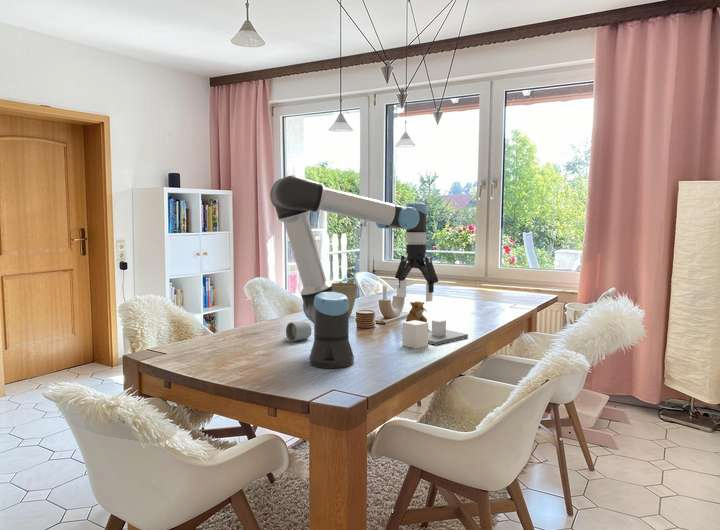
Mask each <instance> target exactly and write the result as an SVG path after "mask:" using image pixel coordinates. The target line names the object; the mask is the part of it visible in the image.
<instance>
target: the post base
mask: <svg viewBox="0 0 720 530" xmlns="http://www.w3.org/2000/svg"><path fill="white" fill-rule="evenodd" d="M466 337H468V338H469V333H465V332H464V333H463V332H460V331H459V332H458V331H456V330H455V331H454V330H449V329H447V320H444V319H440V318H438V319H432V320H431V330H430V331H429V332H428V343H429V344H428V345H431V344H434V345H433V346H435V345H436V346H439V345H438V344H440V345H443V344H442V343H444V344H447V343H446V342H448V343H451V342H450V341H453V342H455V341H454V340H457V341H460V340H459V339H461V340H463V339H462V338H465V339H467V338H466Z"/></svg>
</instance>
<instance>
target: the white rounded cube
mask: <svg viewBox="0 0 720 530" xmlns="http://www.w3.org/2000/svg"><path fill="white" fill-rule="evenodd" d="M428 329H429V322H428V321H427V322H422V321H417V320H413V321H408V322H406V321H403V322H402V333H401V335H402V339H401V341H402V343H401V345H402V346H403V345H404V346H403V347H407V348H410V347H411V349H414V348H415V349H414V350H416V348H417V349H420V347H421V348H424V346H426V347H429V344H428Z"/></svg>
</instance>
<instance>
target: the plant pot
mask: <svg viewBox="0 0 720 530" xmlns="http://www.w3.org/2000/svg"><path fill="white" fill-rule="evenodd" d="M331 284H332V287H333V291H334V292H337V293H342V294H344V295H346V296H347V298H348V303H349V317H351V316H352V313H353V309H354V306H355V303H356V300H357V299H356V298H357V293H358V283H355V282H337V283H336V282H334V283H331ZM350 315H351V316H350Z"/></svg>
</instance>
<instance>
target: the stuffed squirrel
mask: <svg viewBox="0 0 720 530" xmlns="http://www.w3.org/2000/svg"><path fill="white" fill-rule="evenodd" d="M409 304H410V306H411V309H410V310H409V313H408V314H407V316H406V320H405V322H408V321H413V320H417V321H422V322H427V323H428V319H427V318H426V316H424V314H423V313H424V311H425V313H427V312H428V310H427V308H425V307H424V304H425V302H424V301H423V302H421V301H410V302H409ZM429 331H431V330H430V329H429V328H428V332H429Z"/></svg>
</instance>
